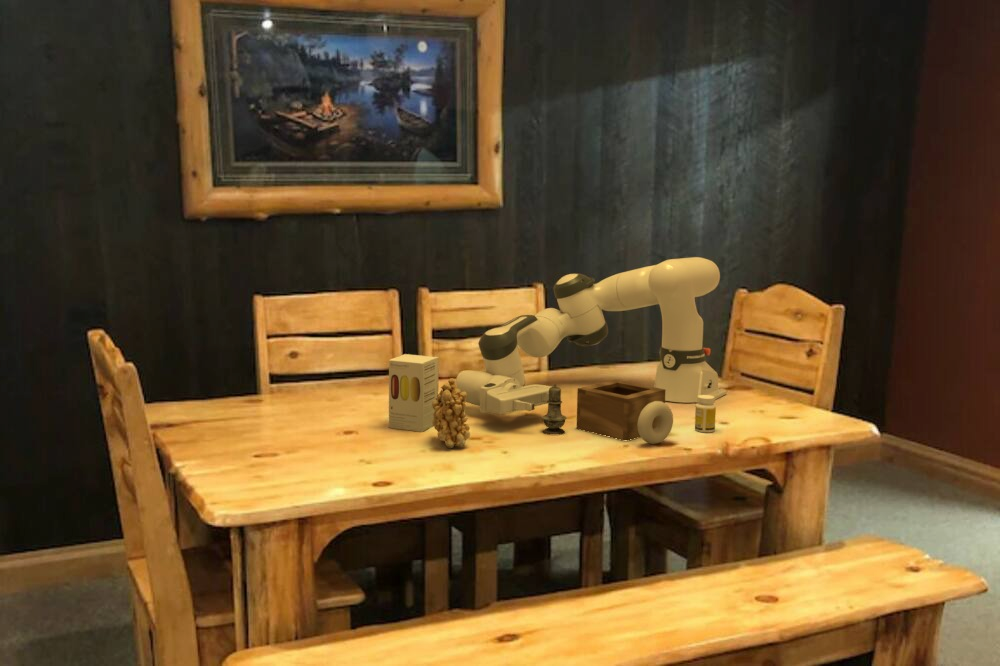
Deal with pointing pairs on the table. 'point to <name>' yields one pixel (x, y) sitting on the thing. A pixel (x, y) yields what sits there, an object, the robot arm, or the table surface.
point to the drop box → (615, 408)
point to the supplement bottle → (705, 414)
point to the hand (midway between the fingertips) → (545, 404)
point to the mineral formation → (451, 415)
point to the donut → (647, 419)
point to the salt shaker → (554, 412)
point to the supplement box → (412, 391)
